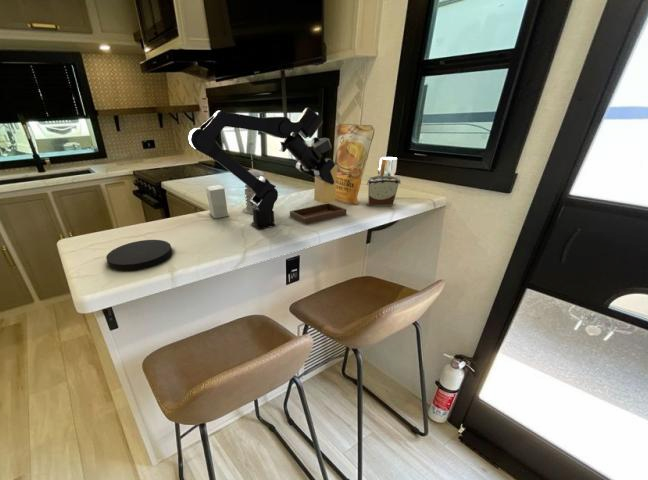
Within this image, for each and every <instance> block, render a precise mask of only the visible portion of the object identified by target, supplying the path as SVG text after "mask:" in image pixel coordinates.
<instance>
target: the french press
mask: <svg viewBox="0 0 648 480" xmlns="http://www.w3.org/2000/svg"><path fill="white" fill-rule="evenodd" d="M253 145H254V142H253V141H252V140H250V141H248V143H247V146H250V147H252V146H253ZM252 151H253V150H250V157H251V159H253V152H252ZM248 171H249V172H250V173H251V174H252V175H254V176H255V177H256V178H260V176H262V177H263V176H264V174H265V173H264V172H263V171H260V170H258V169H254V163H253V162H251V169H249V170H248ZM244 187H245V189H244V196H245V197H244V198H245V206H246V207H245V208H244V210H243V212H244V213H246V214H252V215H253V212H252V208H254V206H252V204H251V202H250V200H251V199H252V197H253V196H254V195H255V194H254V193H253V192H252V190H251V189H250V188H249V187H248V186H247V185H246V184H245V185H244Z"/></svg>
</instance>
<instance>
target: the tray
mask: <svg viewBox="0 0 648 480" xmlns="http://www.w3.org/2000/svg"><path fill="white" fill-rule="evenodd" d="M346 215H347V208H344V207H341V206H339V205H336V204H332V203H331V202H328V203H321V204H317V205H312V206H308V207H302V208H298V209H294V210H289V217H290V218H292V219H294V220H296V221H298V222H300V223H302V224H304V225H309V224H313V223H316V222H321V221H326V220H330V219H333V218H338V217H342V216H346Z"/></svg>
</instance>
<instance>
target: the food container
mask: <svg viewBox="0 0 648 480" xmlns="http://www.w3.org/2000/svg"><path fill="white" fill-rule="evenodd" d="M366 185H367V186H368V190H367V191H368V193H367V195H368V196H367V197H368V200H367V201H368V204H367V205H368V206H374V207H378V206H394V203H395V200H396V195H397V191H398V187H399V185H401V178H400V177H399V176H378V175H376V176H371V177H369V178H368V179H367V182H366Z"/></svg>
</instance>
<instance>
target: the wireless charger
mask: <svg viewBox="0 0 648 480" xmlns="http://www.w3.org/2000/svg"><path fill="white" fill-rule="evenodd" d="M172 255H173V249H172V244H171V243H170V242H168V241H166V240H163V239H143V240H137V241H133V242H128V243H125V244H123V245H119V246H118V247H116V248H113V249H112V250H111V251H109V253H107V254H106V257H105V259H106V262H107V265H108V267H109V268H110V269H111V270H114V271H117V272H135V271H142V270H147V269H150V268H153V267H156V266H159V265H162V264H163V263H165V262H166V261H168V260H170V258H171V257H172Z"/></svg>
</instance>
